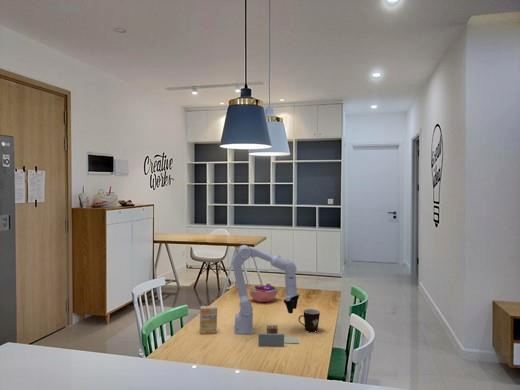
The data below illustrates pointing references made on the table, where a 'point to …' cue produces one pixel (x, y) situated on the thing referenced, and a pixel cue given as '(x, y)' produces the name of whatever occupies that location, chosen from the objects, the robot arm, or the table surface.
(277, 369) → the table surface
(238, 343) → the table surface
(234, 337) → the table surface
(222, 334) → the table surface
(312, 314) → the coffee mug
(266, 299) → the cell model
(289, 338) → the pad
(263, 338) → the screen
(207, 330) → the supplement box
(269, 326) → the walnut block
